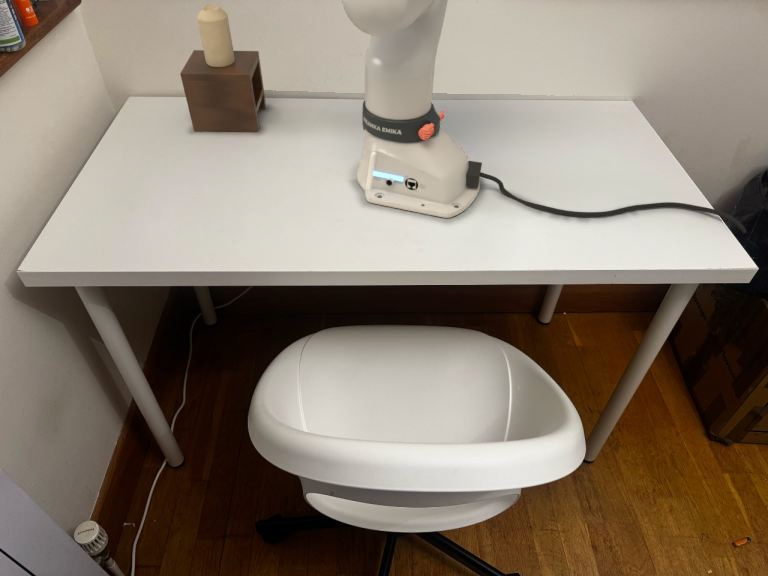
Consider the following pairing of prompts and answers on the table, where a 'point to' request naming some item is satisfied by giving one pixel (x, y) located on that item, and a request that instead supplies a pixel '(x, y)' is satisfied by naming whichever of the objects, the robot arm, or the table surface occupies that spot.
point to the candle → (215, 36)
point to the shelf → (224, 93)
